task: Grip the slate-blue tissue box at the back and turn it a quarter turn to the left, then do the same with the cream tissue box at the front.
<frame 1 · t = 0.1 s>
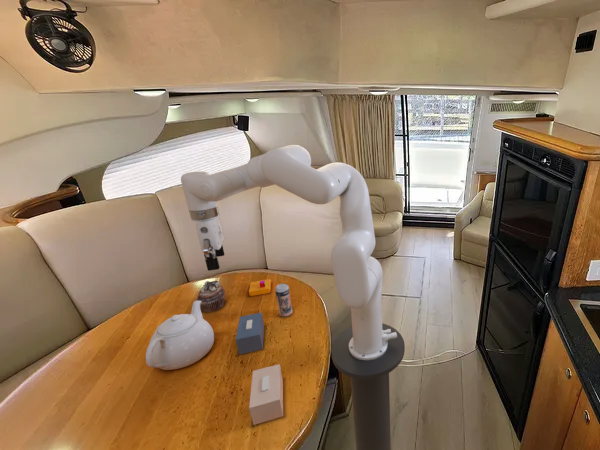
hand: (216, 262, 101), 26 cm above the table, tool pointing down, fingers open, 9 cm apart
teapot: (185, 353, 100), on the table
back tissue box: (253, 332, 109), on the table
beer can: (286, 313, 119), on the table
front tissue box: (269, 388, 87), on the table
cupcake: (213, 306, 123), on the table
orange square block: (260, 289, 134), on the table
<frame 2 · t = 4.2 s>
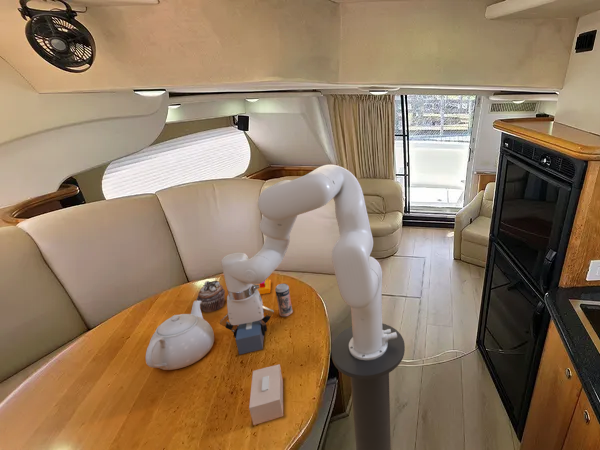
hand: (251, 335, 105), 2 cm above the table, tool pointing down, fingers closed on back tissue box, 7 cm apart
back tissue box: (253, 332, 109), on the table, touching gripper
everything else where it was.
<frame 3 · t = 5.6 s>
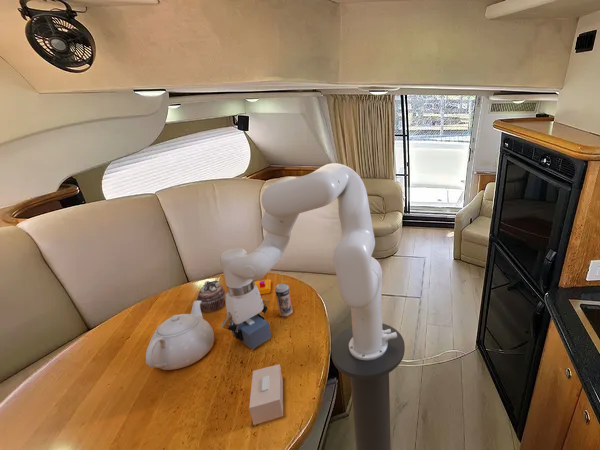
hand: (251, 332, 104), 3 cm above the table, tool pointing down, fingers closed on back tissue box, 7 cm apart
back tissue box: (245, 331, 107), point 1 cm above the table, touching gripper
everything else where it was.
when the fingers open (2 cm above the table, at t = 7.4 s): back tissue box stays where it is, on the table.
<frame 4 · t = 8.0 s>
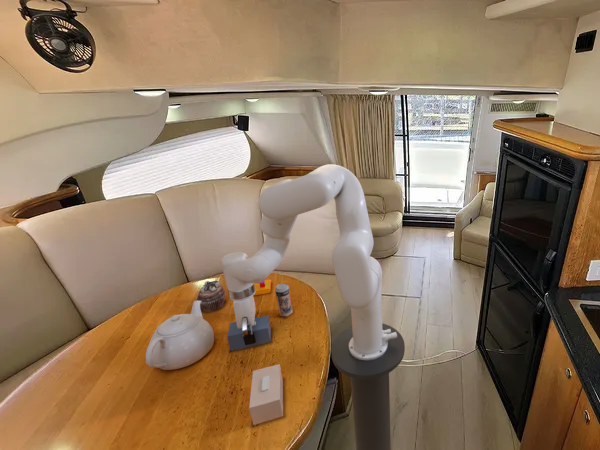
hand: (251, 333, 104), 2 cm above the table, tool pointing down, fingers open, 9 cm apart
back tissue box: (238, 342, 104), on the table
everything else where it was.
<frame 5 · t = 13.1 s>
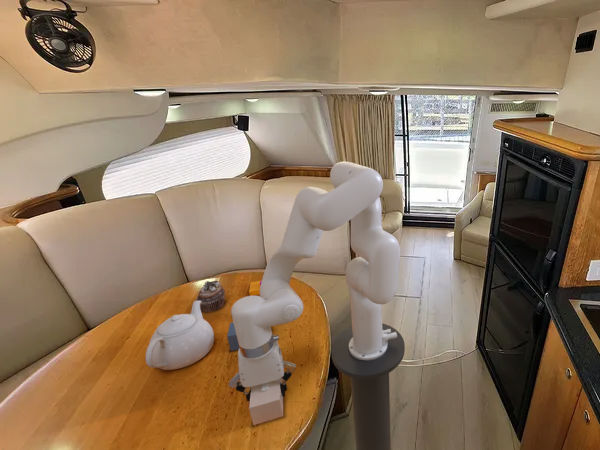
hand: (268, 396, 83), 2 cm above the table, tool pointing down, fingers closed on front tissue box, 7 cm apart
front tissue box: (269, 388, 87), on the table, touching gripper
everything else where it was.
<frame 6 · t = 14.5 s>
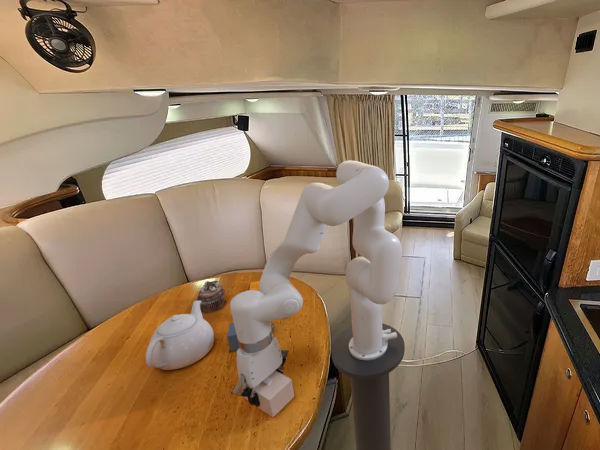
hand: (267, 391, 82), 3 cm above the table, tool pointing down, fingers closed on front tissue box, 7 cm apart
front tissue box: (258, 390, 85), point 1 cm above the table, touching gripper
everything else where it was.
when the fingers open (2 cm above the table, at t = 16.3 s): front tissue box stays where it is, on the table.
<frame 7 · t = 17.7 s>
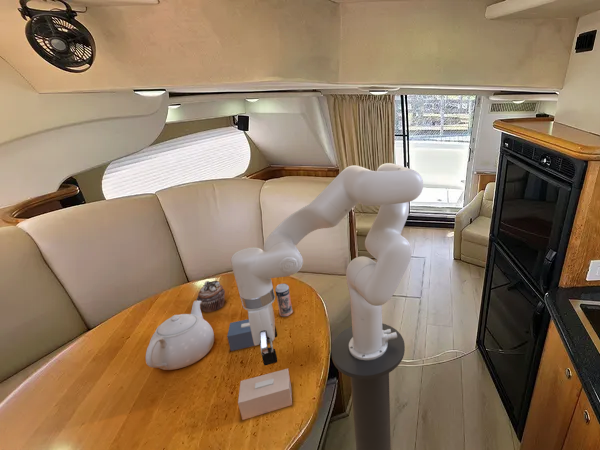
hand: (271, 349, 83), 13 cm above the table, tool pointing down, fingers open, 9 cm apart
front tissue box: (251, 405, 82), on the table
everything else where it was.
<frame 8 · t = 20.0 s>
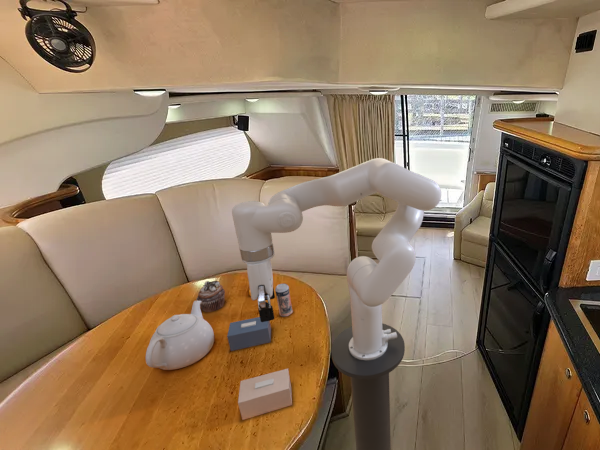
hand: (268, 309, 83), 23 cm above the table, tool pointing down, fingers open, 9 cm apart
nothing on the table moved.
at the end: back tissue box 0.2 cm from the target spot, on the table; front tissue box 0.3 cm from the target spot, on the table; front tissue box tilted 0° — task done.
